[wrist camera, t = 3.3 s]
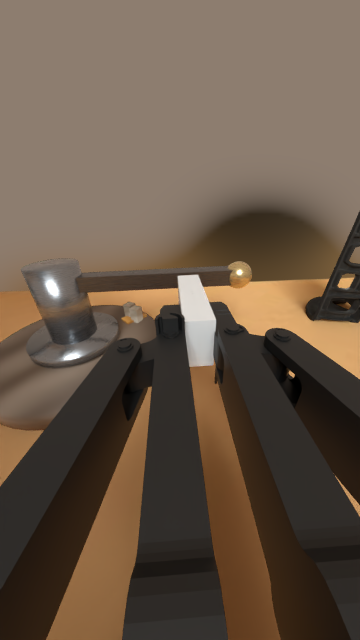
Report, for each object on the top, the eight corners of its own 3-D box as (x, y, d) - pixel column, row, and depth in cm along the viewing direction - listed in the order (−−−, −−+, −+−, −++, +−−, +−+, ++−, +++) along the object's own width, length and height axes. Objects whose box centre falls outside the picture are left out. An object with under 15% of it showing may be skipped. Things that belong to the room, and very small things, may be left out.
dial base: (-53, 382, 22) (-78, 354, 20) (90, 307, 38) (84, 286, 36) (64, 477, 14) (43, 446, 12) (186, 332, 29) (186, 307, 27)
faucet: (8, 370, 20) (-47, 285, 16) (55, 320, 29) (29, 255, 24) (257, 356, 21) (276, 270, 16) (231, 311, 30) (239, 245, 25)
